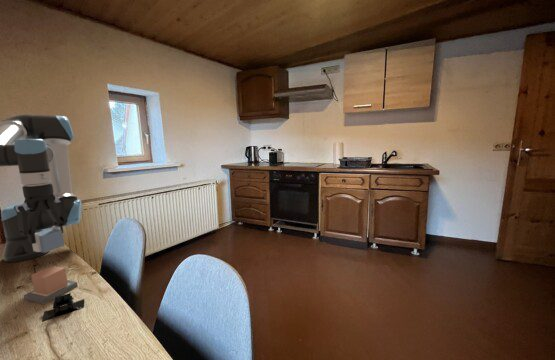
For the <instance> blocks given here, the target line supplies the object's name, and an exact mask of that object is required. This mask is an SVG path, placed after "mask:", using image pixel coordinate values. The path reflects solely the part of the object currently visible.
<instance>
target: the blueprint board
mask: <svg viewBox="0 0 555 360" xmlns="http://www.w3.org/2000/svg"><path fill="white" fill-rule="evenodd" d="M67 282H68V285H66V286H64V287H62V288H60V289H58V290H56V291H54V292H52V293H50V294H48V295H46V294H41V293H36V292H34V289H33V290H31V291H30V292H28V293H26V294H23V300H26V301H31V302H35V303H37V304H38V303H39V304H42V305H45V304H46V303H48V302H50V301H53V300H55V297H59V296H62V295H64V294H65V293H67V292H68V291H70V290H73V289H74V288H76V287H78V286H79V285H78V282H77V281H73V280H68V279H67Z"/></svg>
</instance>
